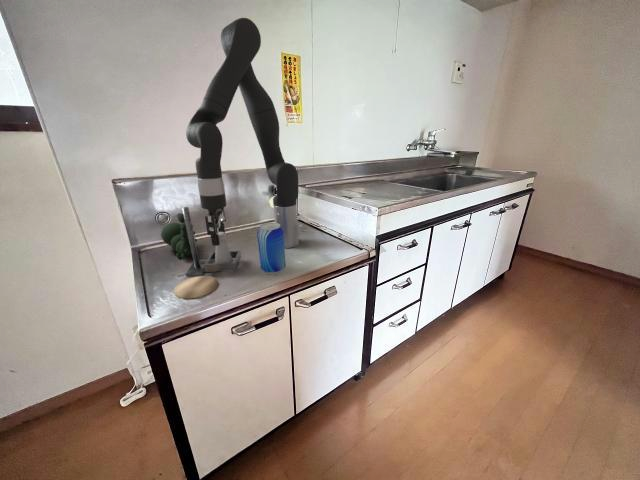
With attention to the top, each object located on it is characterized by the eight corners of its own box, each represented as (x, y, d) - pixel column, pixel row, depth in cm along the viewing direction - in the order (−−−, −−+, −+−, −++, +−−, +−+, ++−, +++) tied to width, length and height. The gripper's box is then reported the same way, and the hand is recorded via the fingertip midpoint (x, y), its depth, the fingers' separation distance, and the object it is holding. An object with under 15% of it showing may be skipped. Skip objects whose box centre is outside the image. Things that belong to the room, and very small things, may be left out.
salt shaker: (236, 264, 94) (231, 230, 89) (229, 272, 89) (223, 236, 84) (220, 263, 95) (214, 229, 90) (213, 271, 89) (206, 235, 84)
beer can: (274, 278, 85) (270, 232, 79) (256, 271, 89) (250, 227, 83) (290, 267, 91) (288, 224, 85) (272, 262, 95) (268, 220, 89)
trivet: (221, 276, 86) (221, 274, 86) (212, 297, 75) (211, 295, 75) (182, 278, 85) (182, 277, 85) (167, 300, 74) (167, 298, 74)
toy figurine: (207, 262, 99) (183, 239, 115) (200, 215, 91) (175, 197, 107) (181, 270, 93) (159, 245, 109) (171, 221, 85) (148, 201, 101)
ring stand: (241, 260, 97) (234, 202, 88) (237, 273, 88) (228, 210, 79) (195, 263, 95) (182, 204, 87) (185, 277, 86) (170, 212, 77)
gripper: (219, 197, 76) (226, 248, 82) (229, 187, 89) (234, 232, 95) (192, 197, 75) (201, 249, 81) (206, 188, 88) (213, 233, 94)
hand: (219, 240), depth 88 cm, fingers open, 8 cm apart
